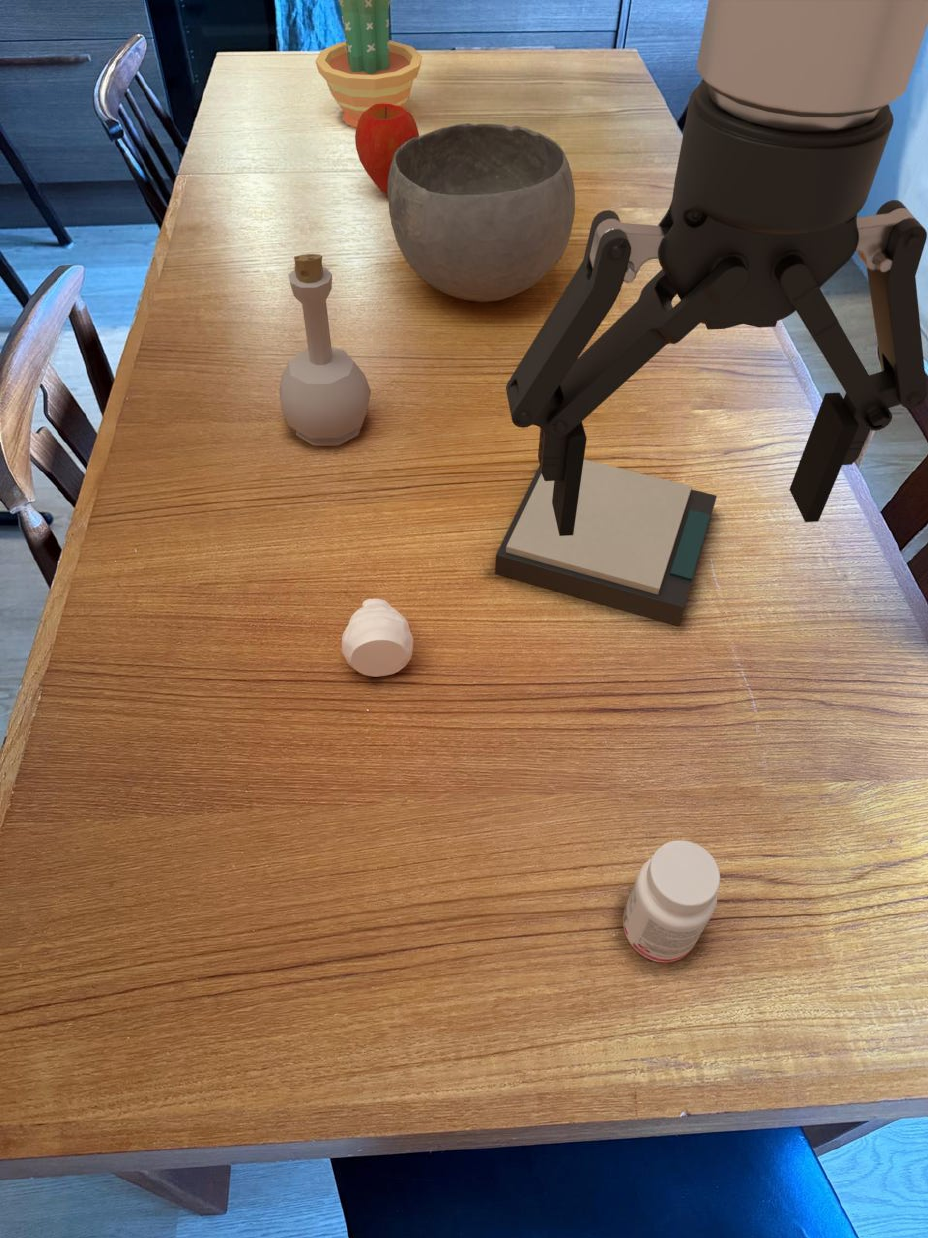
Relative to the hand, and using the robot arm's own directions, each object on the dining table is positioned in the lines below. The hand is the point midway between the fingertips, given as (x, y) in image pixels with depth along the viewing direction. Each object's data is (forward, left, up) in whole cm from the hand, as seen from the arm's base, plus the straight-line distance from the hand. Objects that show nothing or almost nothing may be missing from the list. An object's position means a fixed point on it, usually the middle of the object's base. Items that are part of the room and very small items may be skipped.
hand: (683, 512), depth 50 cm
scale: (+6, -18, -22) cm, 30 cm away
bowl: (+31, -54, -23) cm, 67 cm away
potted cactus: (+62, -92, -23) cm, 114 cm away
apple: (+50, -71, -23) cm, 90 cm away
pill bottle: (-6, +14, -23) cm, 27 cm away
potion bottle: (+36, -24, -23) cm, 49 cm away
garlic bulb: (+20, 0, -23) cm, 30 cm away
